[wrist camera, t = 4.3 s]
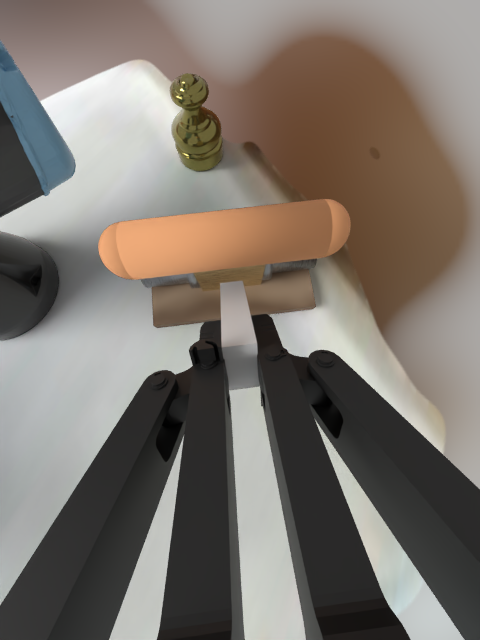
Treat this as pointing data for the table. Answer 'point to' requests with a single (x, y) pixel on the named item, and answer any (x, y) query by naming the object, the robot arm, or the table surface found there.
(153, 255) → the valve lever
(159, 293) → the pipe valve
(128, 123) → the table surface
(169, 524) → the table surface
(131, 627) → the table surface
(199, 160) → the gold pawn figurine
